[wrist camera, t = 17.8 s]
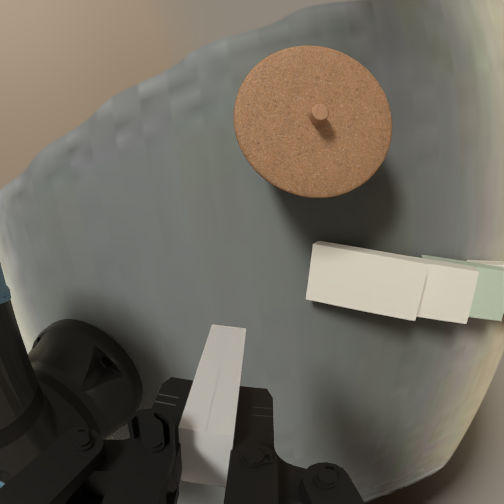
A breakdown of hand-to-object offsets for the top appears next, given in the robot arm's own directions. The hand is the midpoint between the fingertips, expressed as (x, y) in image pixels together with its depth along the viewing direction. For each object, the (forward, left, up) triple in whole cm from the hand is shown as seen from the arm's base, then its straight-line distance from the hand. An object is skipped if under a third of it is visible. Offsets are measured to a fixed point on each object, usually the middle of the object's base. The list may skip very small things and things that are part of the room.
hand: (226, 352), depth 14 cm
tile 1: (+6, 0, -15) cm, 16 cm away
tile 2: (+12, 0, -15) cm, 19 cm away
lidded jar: (+4, +12, -16) cm, 21 cm away
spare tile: (+17, 0, -15) cm, 22 cm away
